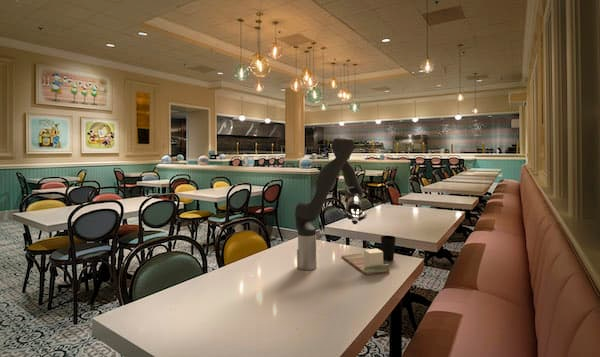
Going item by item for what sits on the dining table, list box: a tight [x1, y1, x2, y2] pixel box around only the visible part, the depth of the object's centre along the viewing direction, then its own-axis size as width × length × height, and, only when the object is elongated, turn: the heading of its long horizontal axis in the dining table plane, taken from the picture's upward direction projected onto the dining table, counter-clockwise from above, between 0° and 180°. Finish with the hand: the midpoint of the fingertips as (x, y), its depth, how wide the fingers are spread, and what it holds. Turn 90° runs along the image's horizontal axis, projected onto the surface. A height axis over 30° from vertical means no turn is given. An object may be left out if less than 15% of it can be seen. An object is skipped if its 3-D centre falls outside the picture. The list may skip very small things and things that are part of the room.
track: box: [341, 252, 390, 277], centre depth 179 cm, size 29×12×4 cm, turn 17°
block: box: [363, 248, 384, 269], centre depth 169 cm, size 6×7×9 cm
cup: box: [380, 235, 397, 262], centre depth 186 cm, size 8×8×12 cm
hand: (355, 222), depth 174 cm, fingers closed
